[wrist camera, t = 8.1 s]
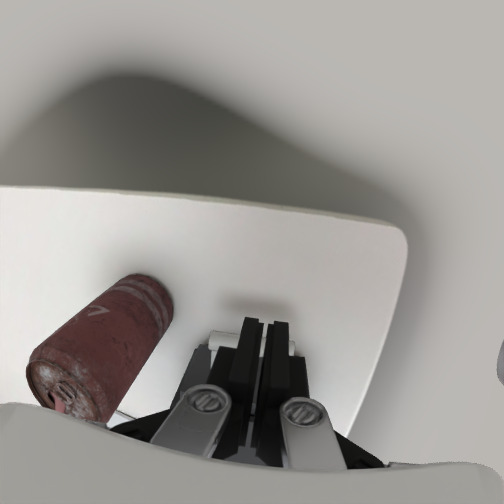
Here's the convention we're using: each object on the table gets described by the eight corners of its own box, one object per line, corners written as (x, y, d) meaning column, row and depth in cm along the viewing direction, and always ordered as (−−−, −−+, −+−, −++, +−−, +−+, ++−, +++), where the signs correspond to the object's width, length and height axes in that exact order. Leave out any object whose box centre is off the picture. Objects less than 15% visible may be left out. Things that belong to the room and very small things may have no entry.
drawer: (201, 303, 25) (178, 346, 19) (311, 318, 25) (321, 365, 18) (198, 425, 29) (184, 471, 23) (281, 436, 29) (280, 484, 22)
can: (115, 325, 27) (34, 414, 14) (116, 265, 26) (11, 340, 12) (171, 342, 27) (110, 452, 14) (178, 281, 26) (97, 381, 12)
